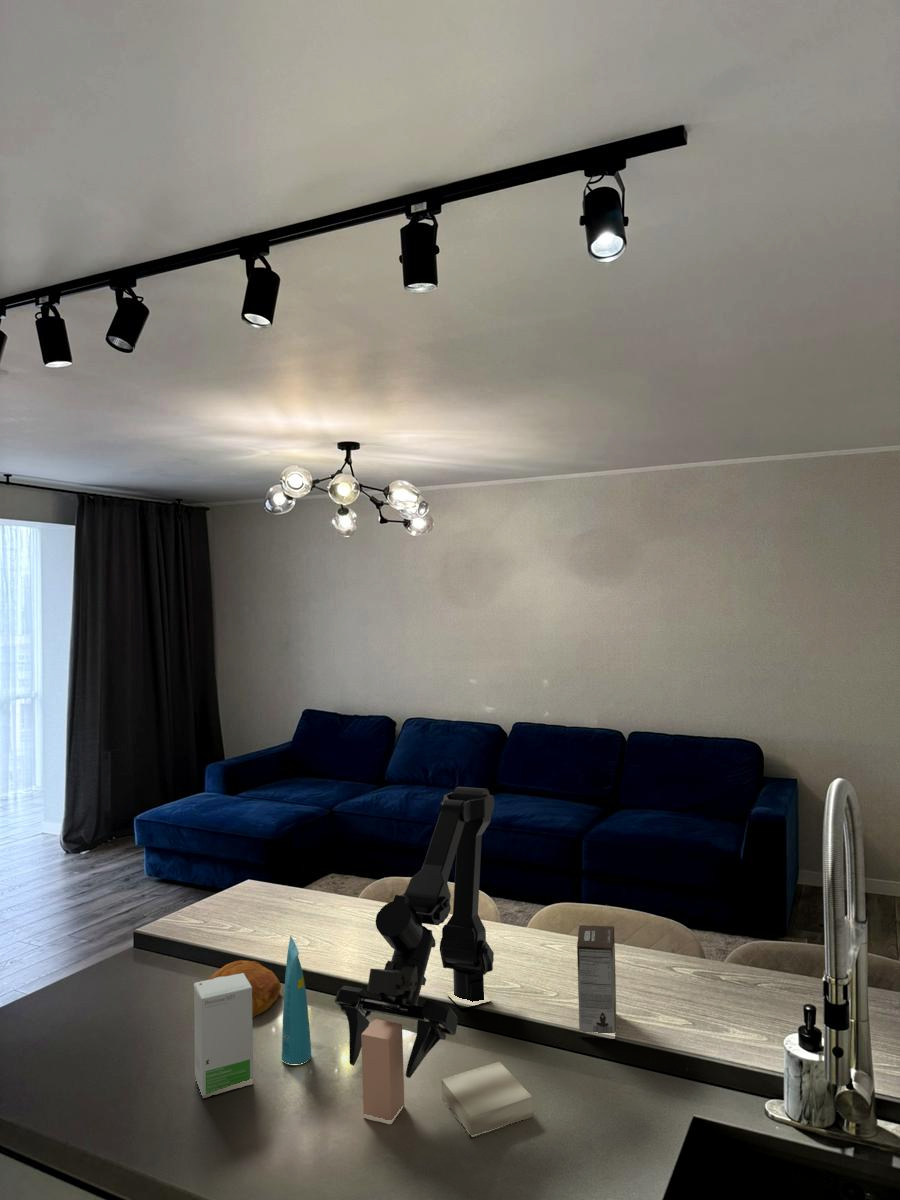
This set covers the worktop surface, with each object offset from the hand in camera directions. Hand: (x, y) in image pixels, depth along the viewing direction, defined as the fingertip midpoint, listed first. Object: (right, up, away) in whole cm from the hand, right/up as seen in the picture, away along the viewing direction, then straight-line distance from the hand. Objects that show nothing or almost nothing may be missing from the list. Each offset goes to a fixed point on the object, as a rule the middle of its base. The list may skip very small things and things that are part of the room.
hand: (379, 1070), depth 119 cm
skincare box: (-26, -8, +10) cm, 28 cm away
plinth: (+16, -6, +2) cm, 17 cm away
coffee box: (+37, -6, +24) cm, 44 cm away
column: (+1, -7, +1) cm, 7 cm away
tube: (-15, -7, +16) cm, 23 cm away
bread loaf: (-29, -8, +35) cm, 46 cm away
